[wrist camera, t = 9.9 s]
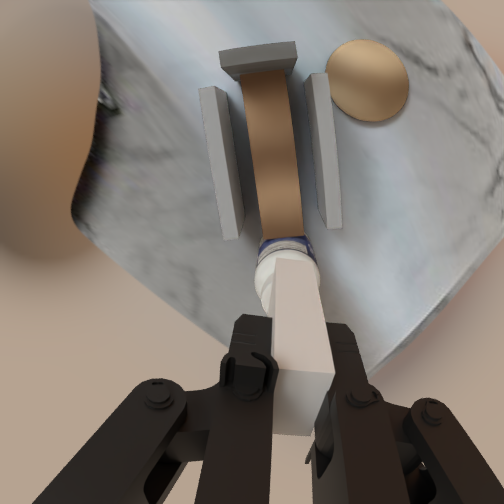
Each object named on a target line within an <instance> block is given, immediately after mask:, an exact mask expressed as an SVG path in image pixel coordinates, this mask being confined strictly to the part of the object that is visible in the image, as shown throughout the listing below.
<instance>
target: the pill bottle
mask: <svg viewBox="0 0 504 504" xmlns="http://www.w3.org/2000/svg"><path fill="white" fill-rule="evenodd" d="M276 257H277V258H285V259H293V260H301V261H309V262H312V264H313V268H314V273H315V277H316V281H317V286H318V290H319V287H320V273H319V269H318V266H317V262H316V258H315V255H314V251H313V248H312V244H311V242H310V239H309V238H308V236H307V235H306V234H305V233H304V236H295V237H285V238H276V239H266V240H264V239H263V237H262V239H261V241H260V243H259V247H258V255H257V263H256V270H255V279H254V284H255V289H256V292H257V294H258V296H259V298H260V299H261V303H262V307H263V309H264V311H265V312H266V314H267V315H268V308H269V302H270V295H271V289H272V282H273V276H274V269H275V262H276Z"/></svg>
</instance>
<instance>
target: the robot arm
mask: <svg viewBox="0 0 504 504" xmlns="http://www.w3.org/2000/svg"><path fill="white" fill-rule="evenodd" d="M313 428H315V440H314V442H313V444H312V447H311V449H310V451H309V453H308V455H307V457H306V460H305V464H309V462H310V460H311V464H312V487H313V488H312V492H313V504H504V488H503V487H502V485H501V483H500V482H499V480H498V479H497V477H496V476H495V474H494V473H493V471H492V470H491V468H490V467H489V465H488V464H487V463H486V461H485V459H484V458H483V456H482V455H481V453H480V452H479V450H478V449H477V448H476V446H475V445H474V443H473V442H472V440H471V439H470V437H469V436H468V435H467V433H466V432H465V430H464V429H463V427H462V426H461V425H460V423H459V422H458V421H457V419H456V418H455V416H454V415H453V414H452V412H451V411H450V409H449V408H448V407H447V406H446V405H445V404H444V403H442V402H440V401H438V400H436V399H431V398H423V399H422V398H421V399H419V400H417V401H416V402H414V404H413V405H412V407H411V408H407V407H403V406H398V405H394V404H391V403H388V402H385V401H384V400H383V397H382V395H381V393H380V392H379V391H378V390H377V389H376V388H375V387H374V386H372V385H370V384H369V383H368V380H367V376H366V372H365V369H364V366H363V362H362V359H361V355H360V354H359V349H358V346H357V342H356V339H355V336H354V333H353V332H352V331H351V330H350V329H349V328H348V326H347V325H346V324H339V323H328V322H325V318H324V314H323V309H322V304H321V300H320V295H319V290H318V286H317V281H316V277H315V273H314V268H313V264H312V262H309V261H301V260H293V259H285V258H277V257H276V262H275V269H274V276H273V282H272V289H271V295H270V302H269V308H268V317H263V316H255V315H248V314H242V315H241V316H240V317H239V318H238V319H237V320H236V321H235V324H234V329H233V334H232V338H231V343H230V348H229V352H228V353H227V354H226V355H225V356H224V357H223V359H222V361H221V366H220V381H219V382H218V383H217V384H215V385H214V386H212V387H210V388H207V389H203V390H197V391H184V390H183V389H182V387H181V386H180V385H178V384H176V383H175V382H173V381H171V380H167V379H163V378H161V379H160V378H159V379H150V380H147V381H144V382H142V383H140V384H139V385H138V386H136V387H135V388H134V389H133V390H132V392H131V393H130V394H129V395H128V396H127V397H126V398H125V400H124V401H123V402H122V403H121V404H120V405H119V406H118V408H117V409H116V410H115V411H114V412H113V413H112V414H111V415H110V416H109V417H108V419H107V420H106V421H105V422H104V423H103V424H102V425H101V427H100V428H99V429H98V430H97V431H96V432H95V433H94V435H93V436H92V437H91V438H90V439H89V440H88V441H87V442H86V443H85V445H84V446H83V447H82V448H81V449H80V450H79V451H78V452H77V454H76V455H75V456H74V457H73V458H72V459H71V460H70V461H69V463H68V464H67V465H66V466H65V467H64V468H63V469H62V470H61V471H60V473H59V474H58V475H57V476H56V477H55V478H54V479H53V481H52V482H51V483H50V484H49V485H48V486H47V487H46V488H45V490H44V491H43V492H42V493H41V494H40V495H39V496H38V497H37V498H36V500H35V501H34V502H33V503H32V504H163V502H164V501H165V499H166V498H167V496H168V494H169V493H170V491H171V490H172V488H173V486H174V484H175V483H176V481H177V480H178V478H179V476H180V475H181V473H182V471H183V470H184V468H185V466H186V465H187V463H188V462H191V461H202V460H203V465H202V469H201V474H200V479H199V484H198V489H197V494H196V498H195V503H194V504H269V494H270V473H271V452H272V434H282V435H283V434H284V435H297V436H310V435H311V433H312V430H313ZM422 462H423V463H424V465H425V466H424V465H423V464H422Z"/></svg>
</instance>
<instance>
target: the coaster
mask: <svg viewBox="0 0 504 504" xmlns="http://www.w3.org/2000/svg"><path fill="white" fill-rule="evenodd" d="M325 73H327V74H328V81H329V88H330V95H331V98H332V99H333V101H334V102H335V104H336V105H337V106H338V107H339V108H340V109H341V110H342V111H344V112H345V113H346V114H348V115H350V116H351V117H354V118H356V119H359V120H363V121H382V120H385V119H388V118H390V117H392V116H394V115H395V114H396V113H397V112H398V111H399V110H400V109H401V108H402V107H403V105H404V103H405V101H406V99H407V96H408V90H409V82H408V76H407V73H406V70H405V68H404V65H403V64H402V62H401V60H400V59H399V58H398V57H397V55H396V54H395V53H394V52H393V51H391V50H390V49H389V48H387V47H386V46H384V45H382V44H380V43H378V42H375V41H371V40H364V39H360V40H352V41H349V42H347V43H345V44H343V45H341V46H340V47H338V48H337V49H336V50H335V51H334V52H333V54H332V55H331V56H330V58H329V60H328V62H327V65H326V70H325Z"/></svg>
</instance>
